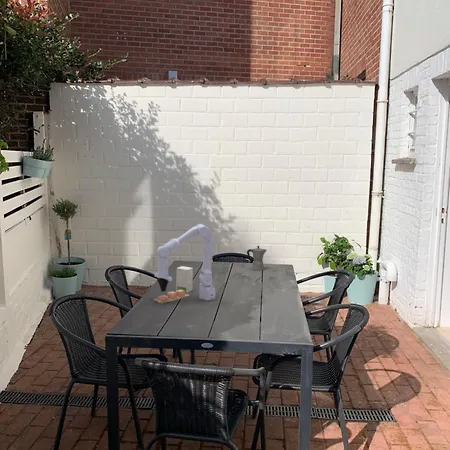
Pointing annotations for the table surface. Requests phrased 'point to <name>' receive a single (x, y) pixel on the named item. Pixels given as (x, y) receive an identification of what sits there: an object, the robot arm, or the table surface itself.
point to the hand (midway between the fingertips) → (163, 291)
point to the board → (171, 299)
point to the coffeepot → (257, 258)
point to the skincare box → (184, 278)
